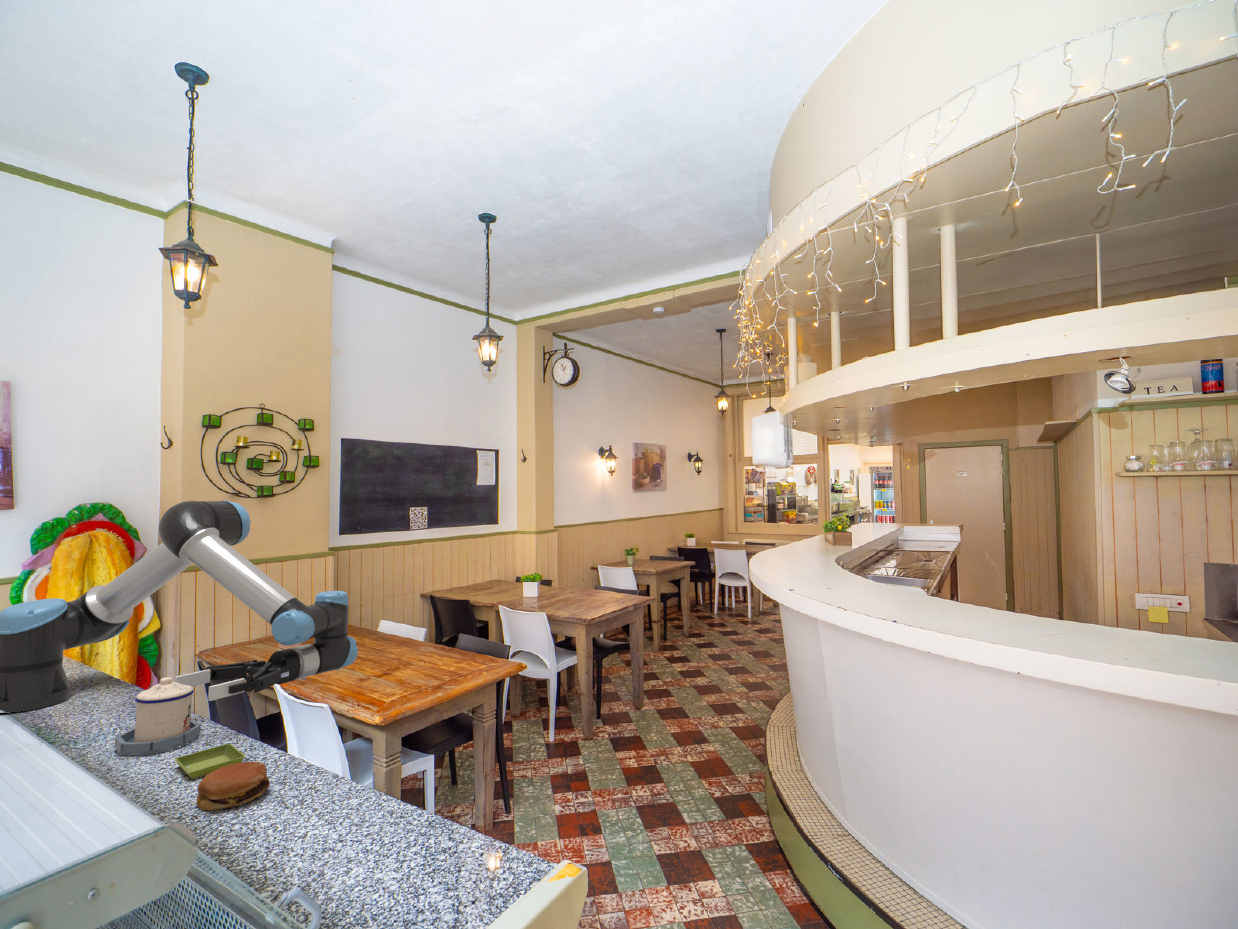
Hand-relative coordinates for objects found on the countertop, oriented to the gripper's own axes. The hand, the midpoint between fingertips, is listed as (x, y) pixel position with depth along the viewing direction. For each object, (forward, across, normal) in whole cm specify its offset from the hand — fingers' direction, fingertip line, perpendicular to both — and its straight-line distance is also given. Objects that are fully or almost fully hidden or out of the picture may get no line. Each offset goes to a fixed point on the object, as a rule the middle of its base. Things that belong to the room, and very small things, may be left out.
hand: (191, 688), depth 120 cm
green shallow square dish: (+6, -20, -10) cm, 23 cm away
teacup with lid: (+5, +1, -8) cm, 10 cm away
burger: (+10, -35, -10) cm, 38 cm away
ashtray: (+5, 0, -9) cm, 10 cm away
